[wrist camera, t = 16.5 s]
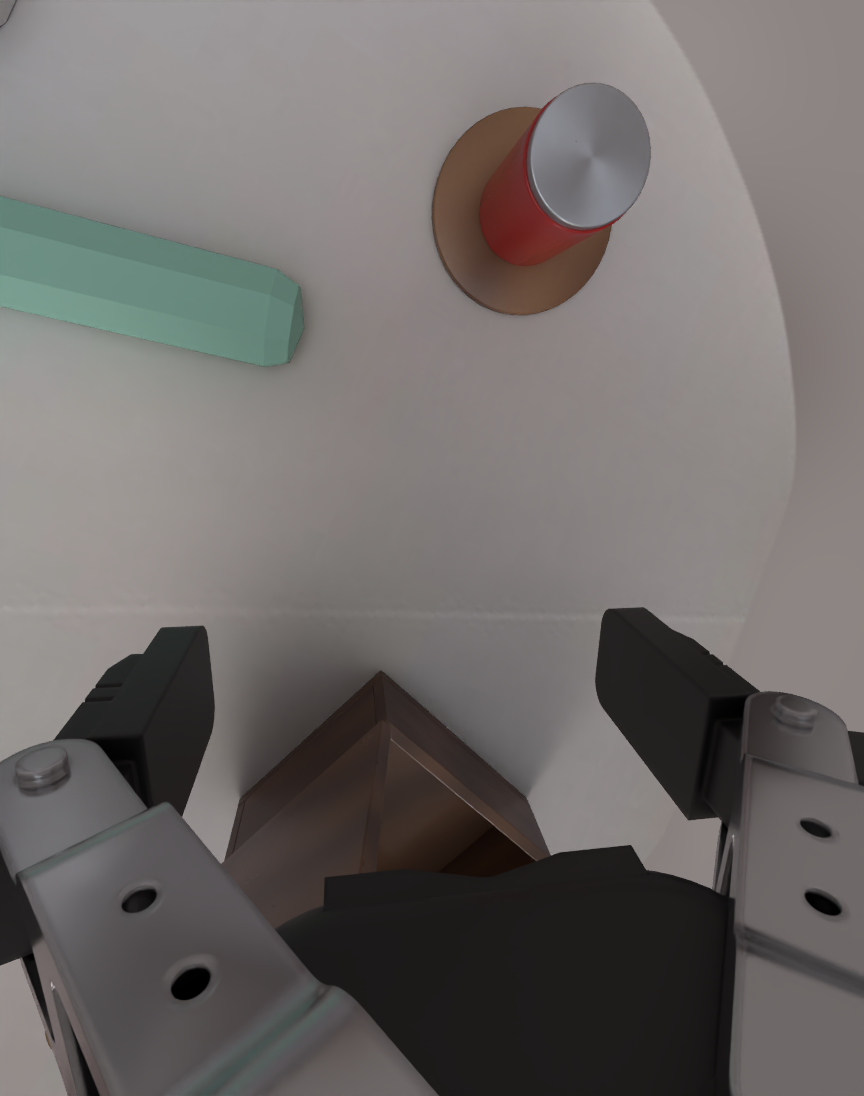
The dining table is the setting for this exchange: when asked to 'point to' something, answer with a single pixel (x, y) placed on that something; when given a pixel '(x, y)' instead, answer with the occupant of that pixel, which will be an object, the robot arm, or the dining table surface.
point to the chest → (410, 791)
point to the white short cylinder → (5, 10)
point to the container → (145, 286)
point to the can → (567, 175)
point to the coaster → (464, 238)
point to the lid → (317, 834)
